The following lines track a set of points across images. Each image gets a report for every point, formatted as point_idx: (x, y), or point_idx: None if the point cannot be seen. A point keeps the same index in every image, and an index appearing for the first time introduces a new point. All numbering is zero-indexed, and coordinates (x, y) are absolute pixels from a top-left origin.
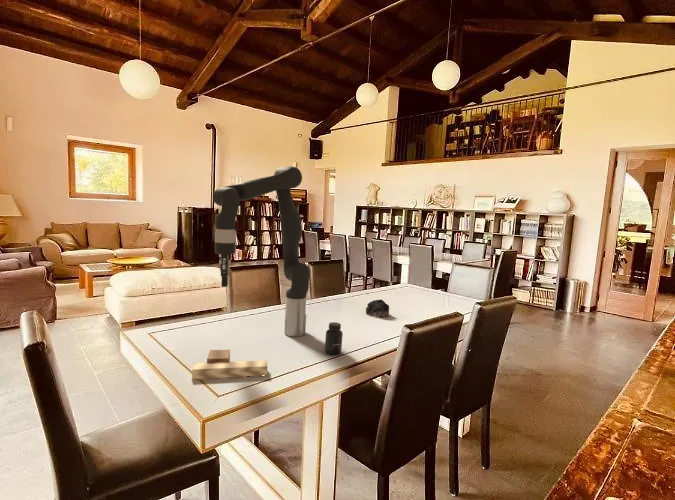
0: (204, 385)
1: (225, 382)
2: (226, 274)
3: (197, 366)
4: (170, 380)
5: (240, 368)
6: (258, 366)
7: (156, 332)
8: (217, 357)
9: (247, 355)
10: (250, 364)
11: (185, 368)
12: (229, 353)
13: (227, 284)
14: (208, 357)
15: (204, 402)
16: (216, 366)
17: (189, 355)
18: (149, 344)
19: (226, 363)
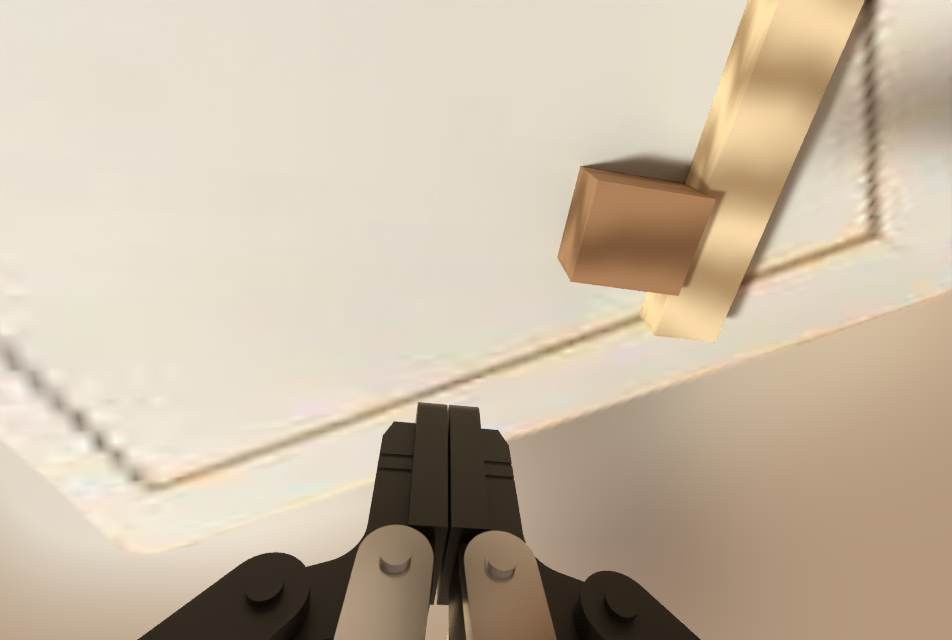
0: (762, 280)
1: (781, 203)
2: (675, 637)
3: (695, 324)
4: (665, 383)
5: (799, 140)
6: (845, 37)
7: (136, 467)
8: (681, 250)
9: (520, 55)
10: (796, 81)
11: (582, 344)
12: (645, 187)
13: (479, 423)
14: (663, 289)
15: (885, 281)
16: (733, 251)
17: (448, 335)
18: (295, 472)
19: (721, 205)
